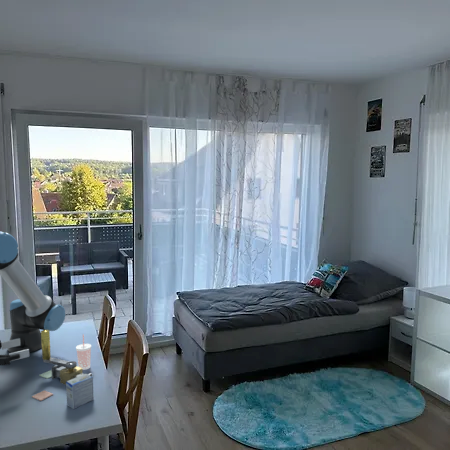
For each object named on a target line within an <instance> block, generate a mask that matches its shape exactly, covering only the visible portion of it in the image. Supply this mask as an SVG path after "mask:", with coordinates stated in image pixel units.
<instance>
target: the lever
mask: <svg viewBox="0 0 450 450" xmlns="http://www.w3.org/2000/svg"><path fill="white" fill-rule="evenodd" d="M40 332H41V341H42V348H41V356H42V357H41V358H42V361H43V363H47V364H50V365H53V366H55V365H58V366H63V367H65V368H66V369H73V368H75V367H76V366H77V367H78V365H77V364H78V362H77V361H74V360H73V361H69V360H64V359H61V358H60V359H59V358H56V357H51V356H52V355H51V340H50V339H51V338H50V337H51V336H50V335H51V334H50V331H49V330H40Z"/></svg>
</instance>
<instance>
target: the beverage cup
mask: <svg viewBox="0 0 450 450" xmlns="http://www.w3.org/2000/svg"><path fill="white" fill-rule="evenodd" d="M91 349H92V344H91V343H85V334H82V343H80V344H77V345H76V346H75V350H76V355H77V356H76V357H77V364H78V365H77V367H80V368H82V369H83V371H84V370H85V371H86V370H89V369H90V368H91V356H92V355H91V353H92V352H91V351H92V350H91Z"/></svg>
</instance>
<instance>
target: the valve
mask: <svg viewBox="0 0 450 450" xmlns="http://www.w3.org/2000/svg"><path fill="white" fill-rule="evenodd" d="M50 370H51V371H52V377H51V379H53V380H54V379H56V378H59V379H60V380H59V381H60V384H62V385H65V386H66V382H67V381H69V380H71V379H74V378H76V377H78V376H81V375H84V374H85V373H83V372H84V370H83V369H82V368H80V367H78V365H77V366H76V367H75V368H73V369H66V367H63V366H58V365H53V366H51V367H50ZM87 374H88V375H90V376H91V377H93V373H91V372H90V373H87Z"/></svg>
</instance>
